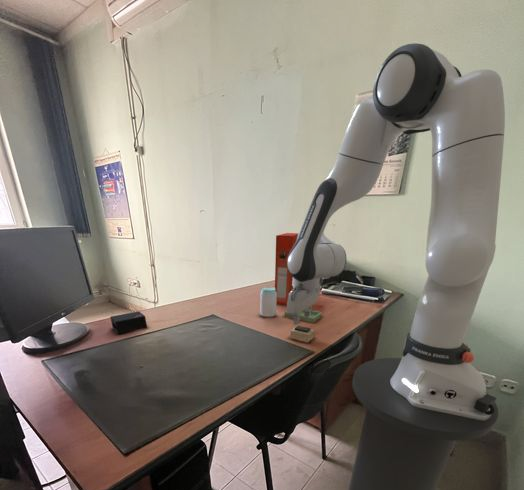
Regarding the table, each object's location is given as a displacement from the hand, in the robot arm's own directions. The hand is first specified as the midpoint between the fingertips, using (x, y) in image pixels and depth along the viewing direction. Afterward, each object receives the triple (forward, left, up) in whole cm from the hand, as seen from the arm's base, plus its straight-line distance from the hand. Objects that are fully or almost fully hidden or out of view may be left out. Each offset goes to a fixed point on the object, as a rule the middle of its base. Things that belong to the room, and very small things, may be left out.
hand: (301, 319), depth 101 cm
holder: (+8, -22, -7) cm, 25 cm away
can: (+22, -15, -7) cm, 28 cm away
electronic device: (+59, +28, -7) cm, 66 cm away
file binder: (+26, -41, -7) cm, 49 cm away
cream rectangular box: (-1, 0, -7) cm, 7 cm away
